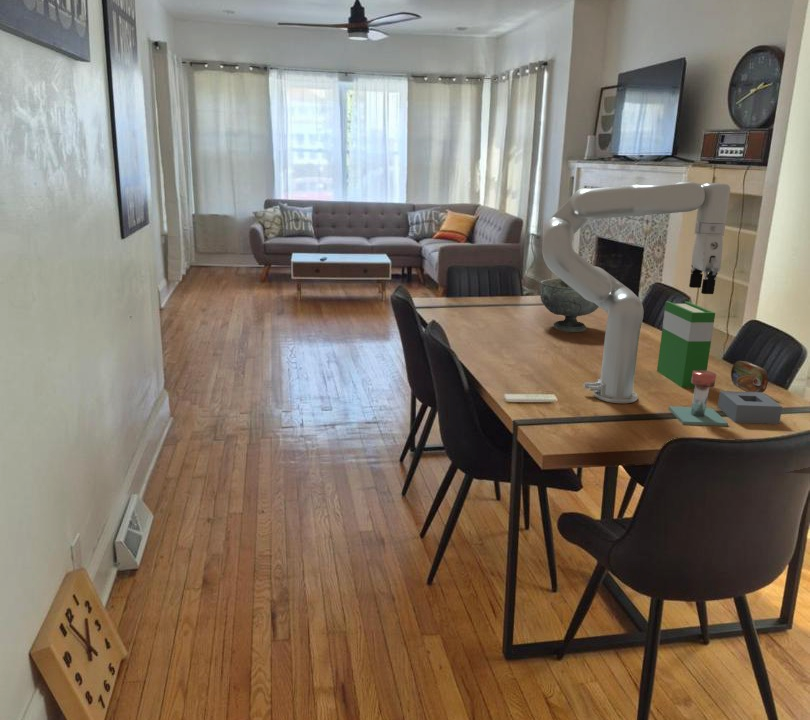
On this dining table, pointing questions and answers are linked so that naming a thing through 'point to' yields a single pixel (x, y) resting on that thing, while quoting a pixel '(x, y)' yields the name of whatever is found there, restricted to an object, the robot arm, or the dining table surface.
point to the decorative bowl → (565, 304)
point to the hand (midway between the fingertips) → (700, 290)
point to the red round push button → (701, 390)
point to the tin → (749, 377)
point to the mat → (687, 418)
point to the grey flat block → (749, 407)
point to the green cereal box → (685, 341)
